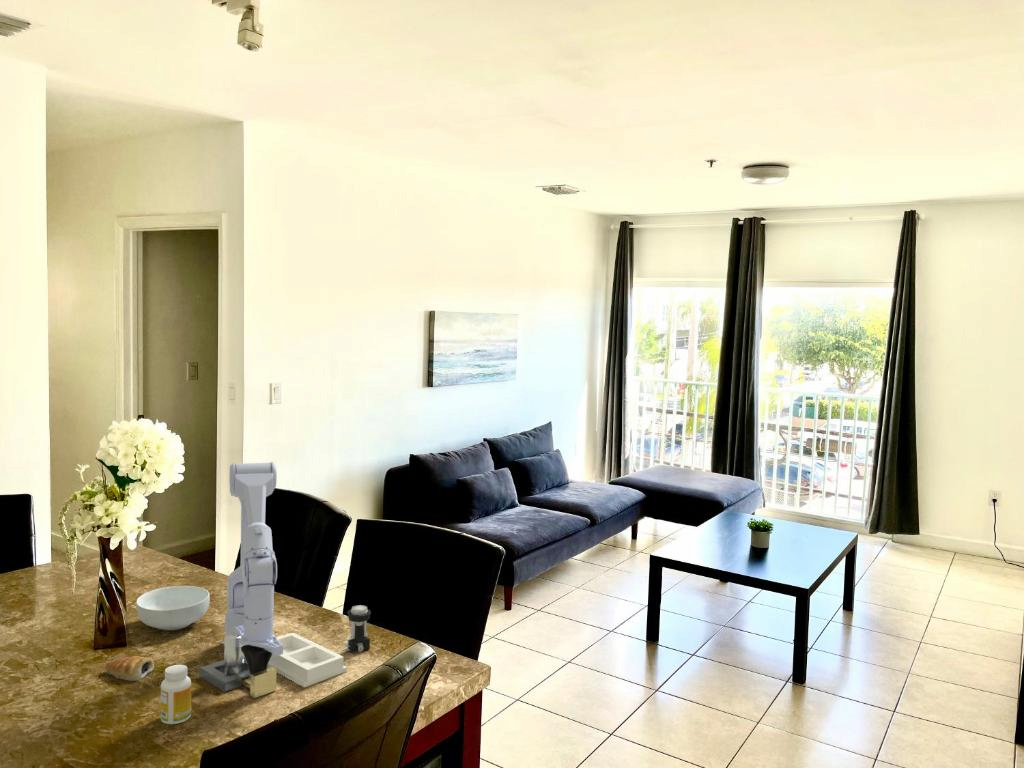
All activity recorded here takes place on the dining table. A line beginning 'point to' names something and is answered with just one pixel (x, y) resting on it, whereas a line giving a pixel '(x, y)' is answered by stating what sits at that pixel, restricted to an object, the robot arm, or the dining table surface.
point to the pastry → (130, 668)
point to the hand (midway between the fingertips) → (257, 679)
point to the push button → (358, 629)
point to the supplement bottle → (175, 695)
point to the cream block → (261, 682)
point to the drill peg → (233, 655)
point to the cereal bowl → (172, 606)
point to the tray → (306, 661)
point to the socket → (223, 675)
